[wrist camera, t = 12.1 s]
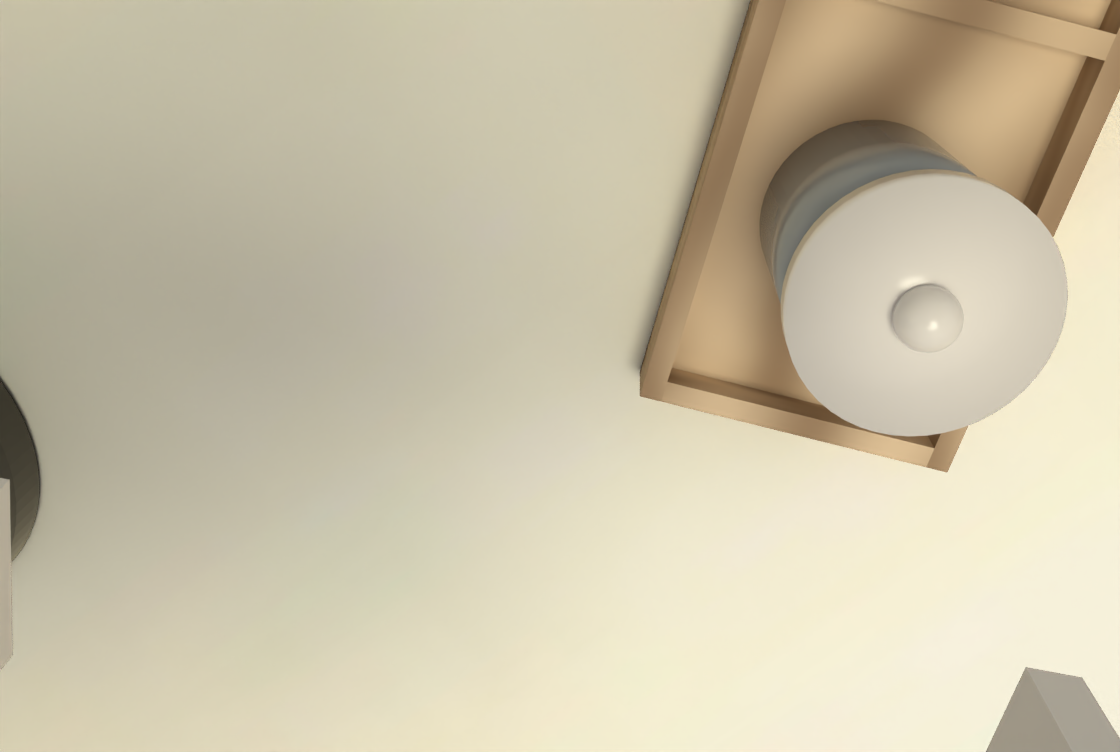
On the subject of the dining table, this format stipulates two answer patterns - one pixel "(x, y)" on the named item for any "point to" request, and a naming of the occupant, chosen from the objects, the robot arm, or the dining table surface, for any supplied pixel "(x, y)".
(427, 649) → the dining table surface
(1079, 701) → the robot arm
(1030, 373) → the slate jar
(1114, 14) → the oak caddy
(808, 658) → the dining table surface
